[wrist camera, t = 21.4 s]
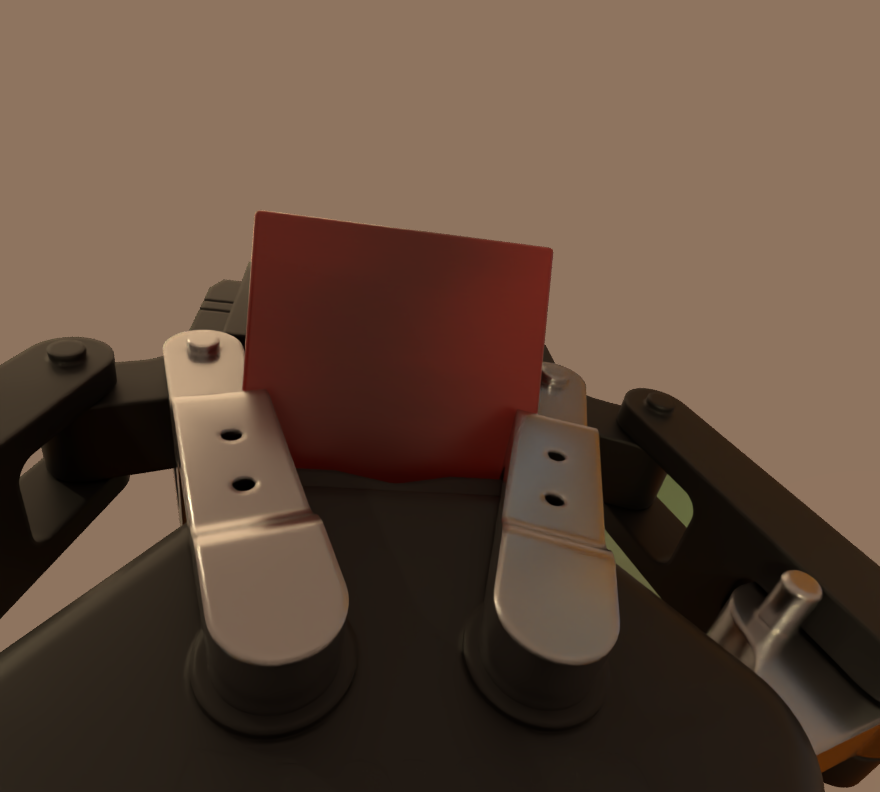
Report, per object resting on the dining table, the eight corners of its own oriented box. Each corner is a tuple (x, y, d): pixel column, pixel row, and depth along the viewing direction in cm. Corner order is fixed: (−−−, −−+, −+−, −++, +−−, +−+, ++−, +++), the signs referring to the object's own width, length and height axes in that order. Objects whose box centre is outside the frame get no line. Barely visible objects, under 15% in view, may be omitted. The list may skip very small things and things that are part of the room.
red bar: (232, 522, 9) (254, 208, 8) (300, 400, 32) (306, 315, 32) (527, 532, 9) (554, 247, 9) (384, 406, 33) (391, 324, 32)
